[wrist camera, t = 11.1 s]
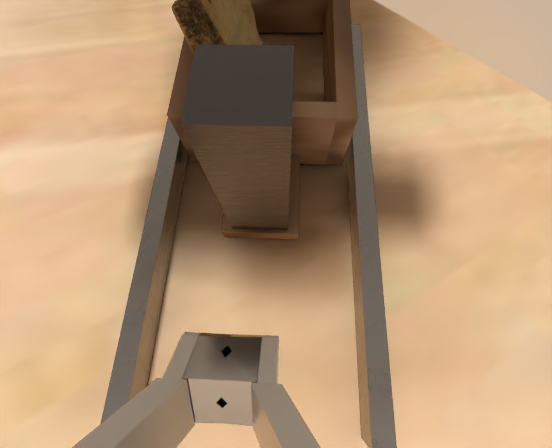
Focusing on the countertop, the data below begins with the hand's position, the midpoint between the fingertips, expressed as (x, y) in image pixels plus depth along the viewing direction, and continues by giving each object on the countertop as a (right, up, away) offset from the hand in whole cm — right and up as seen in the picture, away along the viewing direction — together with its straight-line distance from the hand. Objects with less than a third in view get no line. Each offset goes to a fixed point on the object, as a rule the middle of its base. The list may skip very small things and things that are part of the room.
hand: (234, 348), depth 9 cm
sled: (+1, +13, +14) cm, 19 cm away
